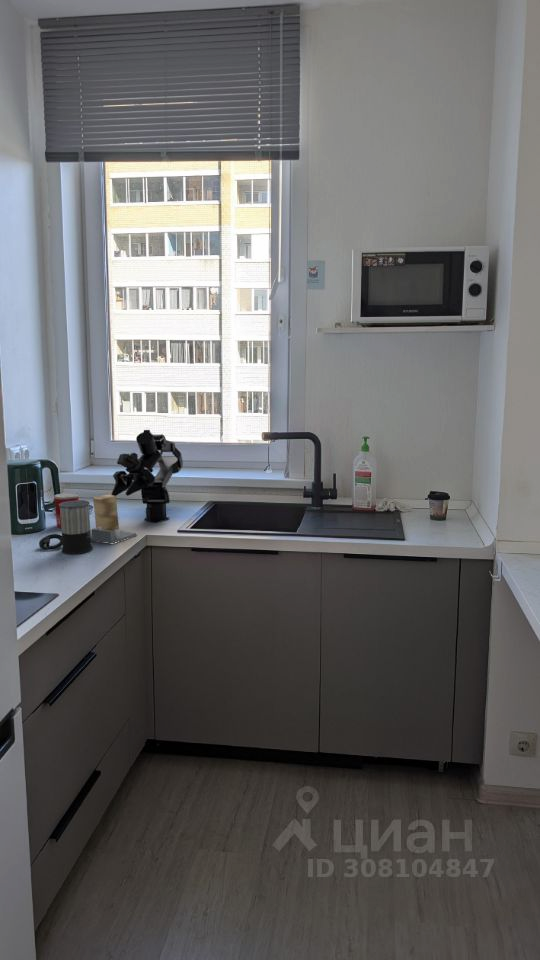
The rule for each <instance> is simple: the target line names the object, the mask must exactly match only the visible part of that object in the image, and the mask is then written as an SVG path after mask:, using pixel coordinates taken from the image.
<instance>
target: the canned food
mask: <svg viewBox="0 0 540 960" xmlns="http://www.w3.org/2000/svg"><path fill="white" fill-rule="evenodd" d="M75 500H79V494H77V493H75V492H64V493H59V494H58V493H57V494H55V495H54V508H55V519H56V520H55V522H56V526H57V528H58V529H62V528H61V515H60V506H59V504H60V503H62V502H66V501H75Z"/></svg>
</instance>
